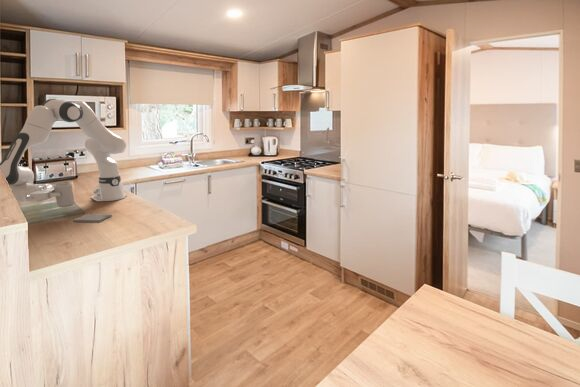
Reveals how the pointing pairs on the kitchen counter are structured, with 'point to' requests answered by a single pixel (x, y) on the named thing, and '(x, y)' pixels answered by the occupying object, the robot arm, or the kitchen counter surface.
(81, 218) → the slate tile
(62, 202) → the can
